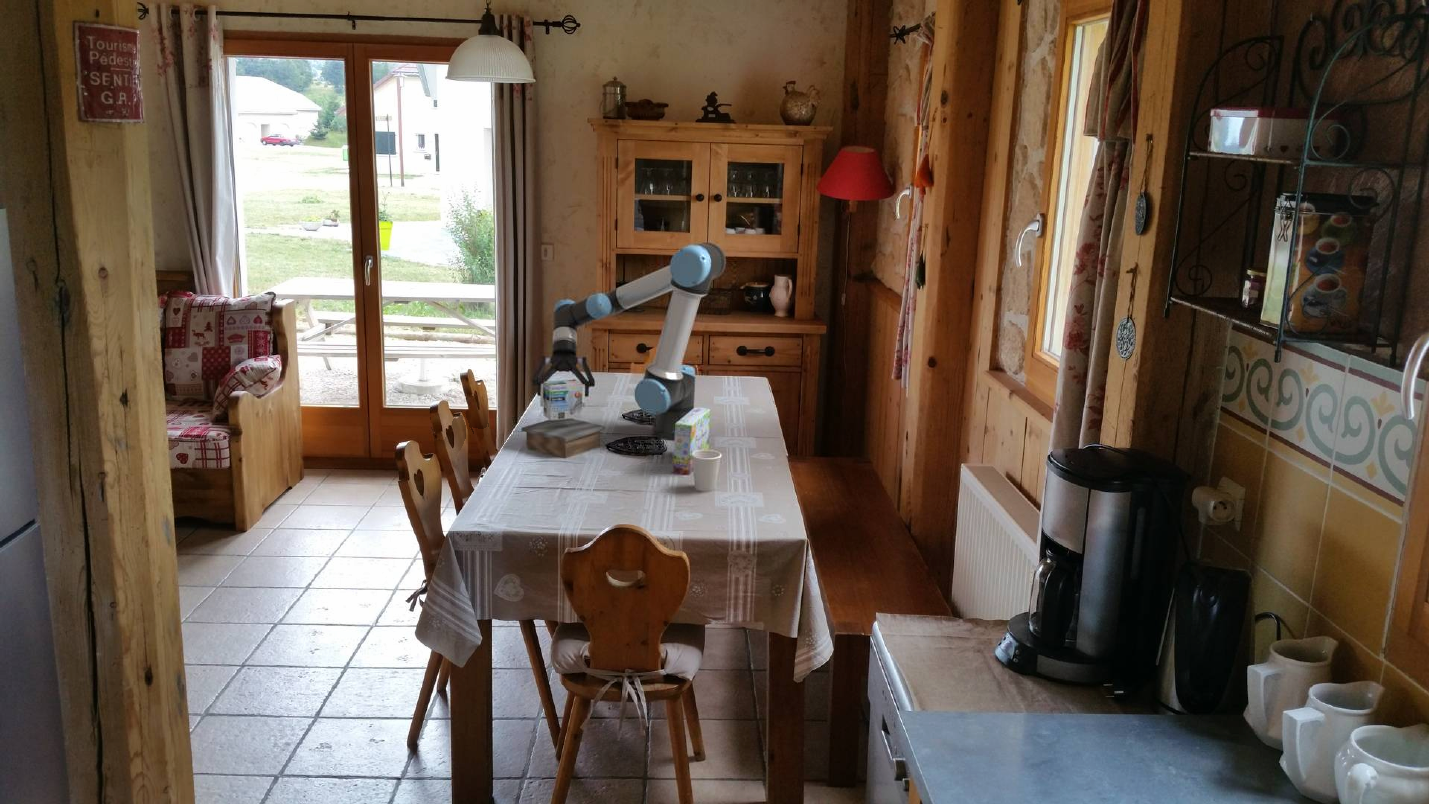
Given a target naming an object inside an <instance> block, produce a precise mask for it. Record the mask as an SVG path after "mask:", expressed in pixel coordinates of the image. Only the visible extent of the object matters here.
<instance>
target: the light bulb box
mask: <svg viewBox="0 0 1429 804" xmlns="http://www.w3.org/2000/svg"><path fill="white" fill-rule="evenodd" d="M582 392H583V384H582V383H581V382H580V381H579V380H578V379H576V378H573V379H562V380H551V381H549V380H547V381H546V382H544V398H543V407H542V408H543V410H542V413H543V416H544V417H545V418H547V420H560V419H579V418H580V419H581V418H583V407H582Z"/></svg>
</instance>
